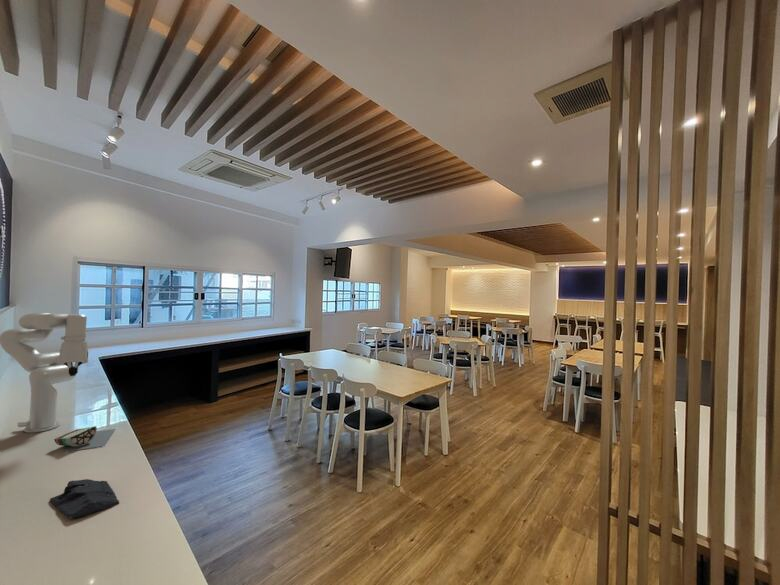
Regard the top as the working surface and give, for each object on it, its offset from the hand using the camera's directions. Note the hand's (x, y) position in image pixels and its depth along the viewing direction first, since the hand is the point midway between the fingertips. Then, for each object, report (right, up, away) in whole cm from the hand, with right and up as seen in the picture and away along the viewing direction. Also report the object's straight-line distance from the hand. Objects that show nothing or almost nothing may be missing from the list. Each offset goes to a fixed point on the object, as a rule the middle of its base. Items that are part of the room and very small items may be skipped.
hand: (72, 375), depth 164 cm
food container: (+9, -27, -12) cm, 31 cm away
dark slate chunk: (+56, -30, -53) cm, 82 cm away
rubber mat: (+17, -30, -7) cm, 35 cm away
